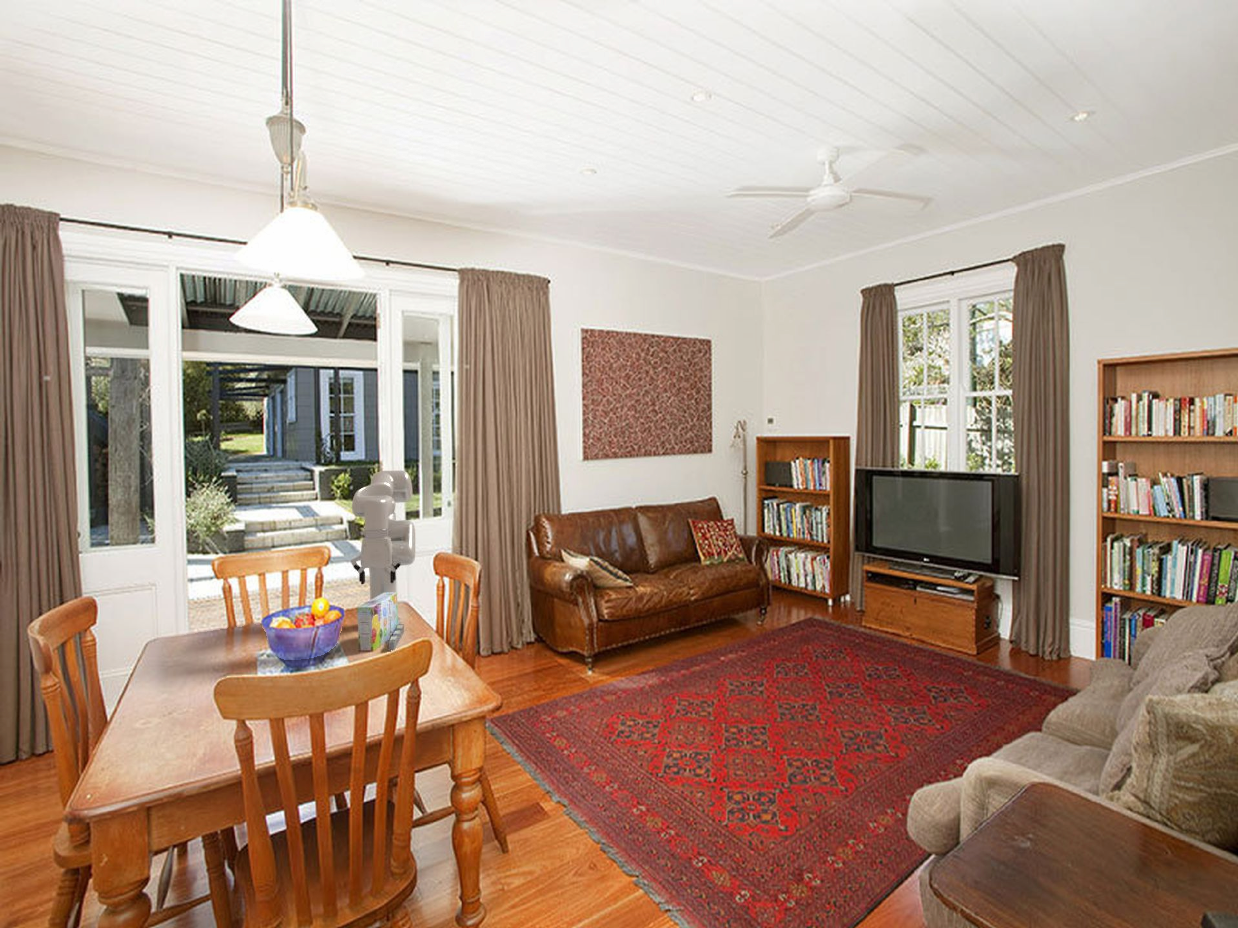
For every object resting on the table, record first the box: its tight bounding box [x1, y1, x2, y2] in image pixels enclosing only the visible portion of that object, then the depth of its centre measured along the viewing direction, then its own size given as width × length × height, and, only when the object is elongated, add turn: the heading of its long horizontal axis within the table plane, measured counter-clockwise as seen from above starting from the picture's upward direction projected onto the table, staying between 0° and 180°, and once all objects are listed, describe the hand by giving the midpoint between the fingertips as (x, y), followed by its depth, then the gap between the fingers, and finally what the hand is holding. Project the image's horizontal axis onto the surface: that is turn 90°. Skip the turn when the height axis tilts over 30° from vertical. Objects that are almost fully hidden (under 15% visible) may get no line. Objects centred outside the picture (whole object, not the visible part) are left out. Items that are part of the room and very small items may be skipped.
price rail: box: [388, 623, 405, 652], centre depth 221 cm, size 22×2×3 cm, turn 10°
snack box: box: [356, 591, 399, 652], centre depth 220 cm, size 21×6×15 cm, turn 177°
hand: (377, 582), depth 220 cm, fingers open, 9 cm apart
